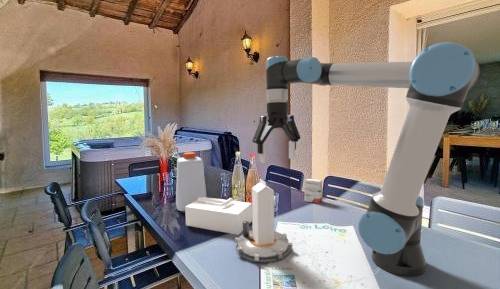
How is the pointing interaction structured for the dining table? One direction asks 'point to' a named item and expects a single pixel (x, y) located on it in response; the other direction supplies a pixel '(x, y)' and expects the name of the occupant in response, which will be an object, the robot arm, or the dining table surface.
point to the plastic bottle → (189, 180)
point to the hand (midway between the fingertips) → (277, 160)
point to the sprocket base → (262, 259)
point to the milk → (263, 213)
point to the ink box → (313, 190)
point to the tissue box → (218, 214)
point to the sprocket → (262, 251)
